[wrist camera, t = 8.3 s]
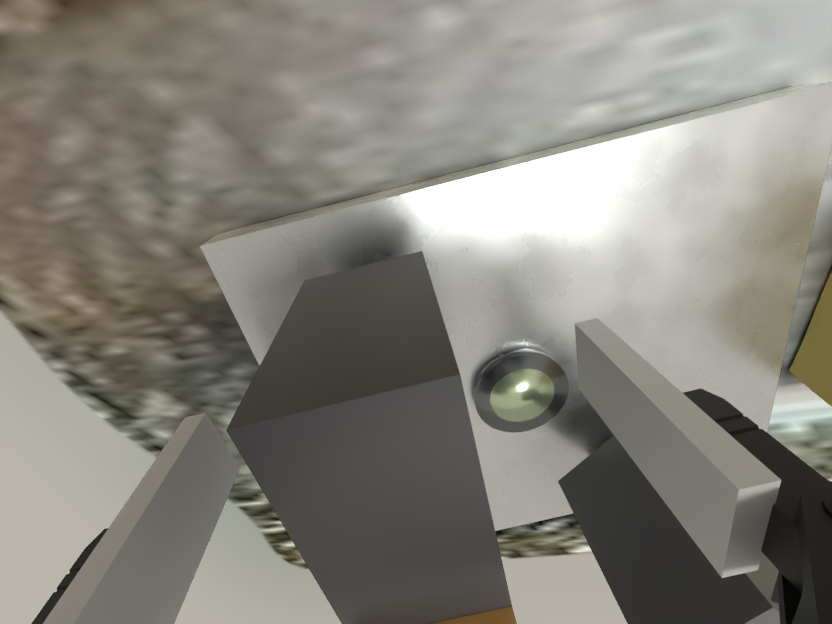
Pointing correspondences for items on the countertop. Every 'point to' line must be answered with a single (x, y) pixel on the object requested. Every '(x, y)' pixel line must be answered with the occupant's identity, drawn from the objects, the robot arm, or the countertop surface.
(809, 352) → the cheese
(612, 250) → the level plate
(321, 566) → the knob
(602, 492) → the orange-capped gray block
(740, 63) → the countertop surface
